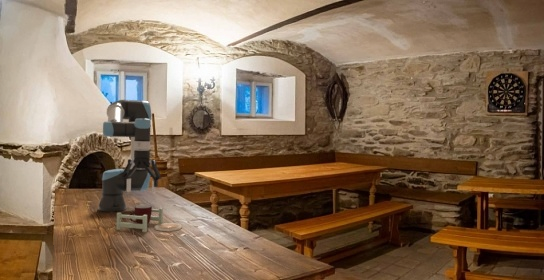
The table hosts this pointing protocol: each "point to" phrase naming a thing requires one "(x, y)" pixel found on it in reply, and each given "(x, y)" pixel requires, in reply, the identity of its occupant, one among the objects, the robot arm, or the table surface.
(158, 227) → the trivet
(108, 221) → the table surface
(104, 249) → the table surface
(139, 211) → the mug
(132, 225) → the cradle
